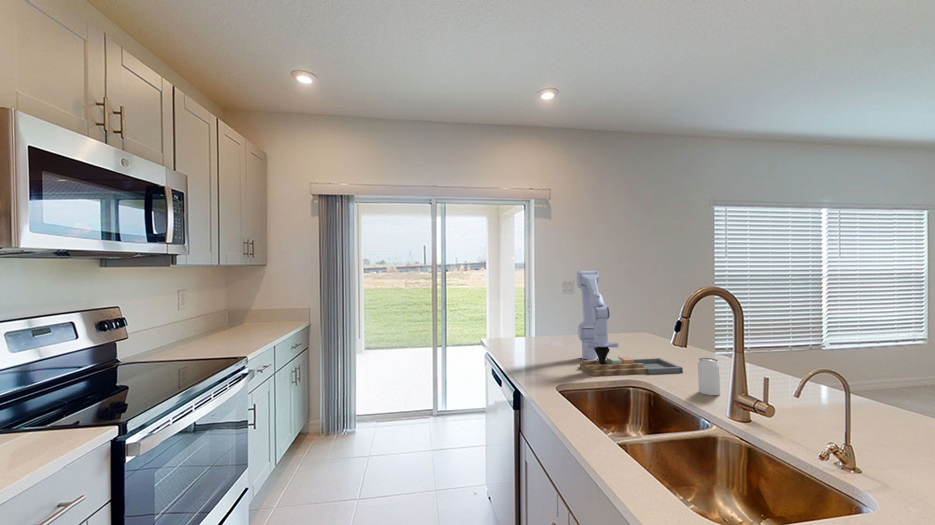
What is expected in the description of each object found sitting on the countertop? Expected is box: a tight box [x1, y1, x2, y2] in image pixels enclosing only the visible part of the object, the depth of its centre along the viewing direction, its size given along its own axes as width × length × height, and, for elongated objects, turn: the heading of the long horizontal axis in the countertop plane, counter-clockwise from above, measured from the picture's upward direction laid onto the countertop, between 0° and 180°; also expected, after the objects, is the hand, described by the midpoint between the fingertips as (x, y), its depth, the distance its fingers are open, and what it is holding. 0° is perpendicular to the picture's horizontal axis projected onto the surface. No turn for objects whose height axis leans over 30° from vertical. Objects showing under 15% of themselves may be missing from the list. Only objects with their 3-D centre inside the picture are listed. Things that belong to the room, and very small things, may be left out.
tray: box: [633, 357, 684, 375], centre depth 163 cm, size 15×16×2 cm
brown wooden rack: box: [579, 358, 648, 377], centre depth 162 cm, size 24×14×4 cm, turn 94°
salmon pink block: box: [617, 356, 634, 364], centre depth 162 cm, size 4×6×3 cm, turn 4°
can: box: [697, 357, 721, 396], centre depth 131 cm, size 6×6×12 cm
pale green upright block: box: [606, 356, 622, 365], centre depth 162 cm, size 4×6×3 cm, turn 4°
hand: (602, 364), depth 161 cm, fingers closed
